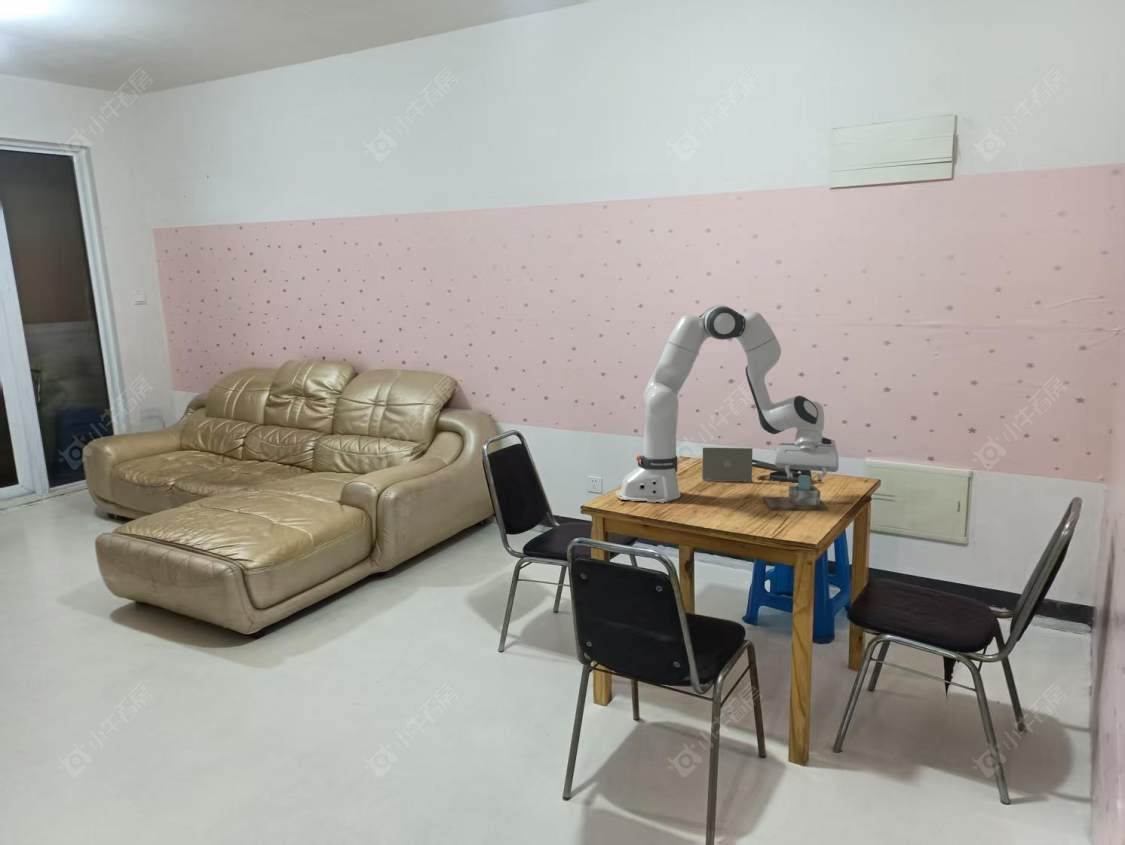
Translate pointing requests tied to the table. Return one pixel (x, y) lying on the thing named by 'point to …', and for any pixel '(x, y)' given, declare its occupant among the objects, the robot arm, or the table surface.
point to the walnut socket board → (797, 500)
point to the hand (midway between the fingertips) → (804, 479)
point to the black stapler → (780, 472)
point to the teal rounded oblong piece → (804, 483)
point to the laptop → (727, 464)
